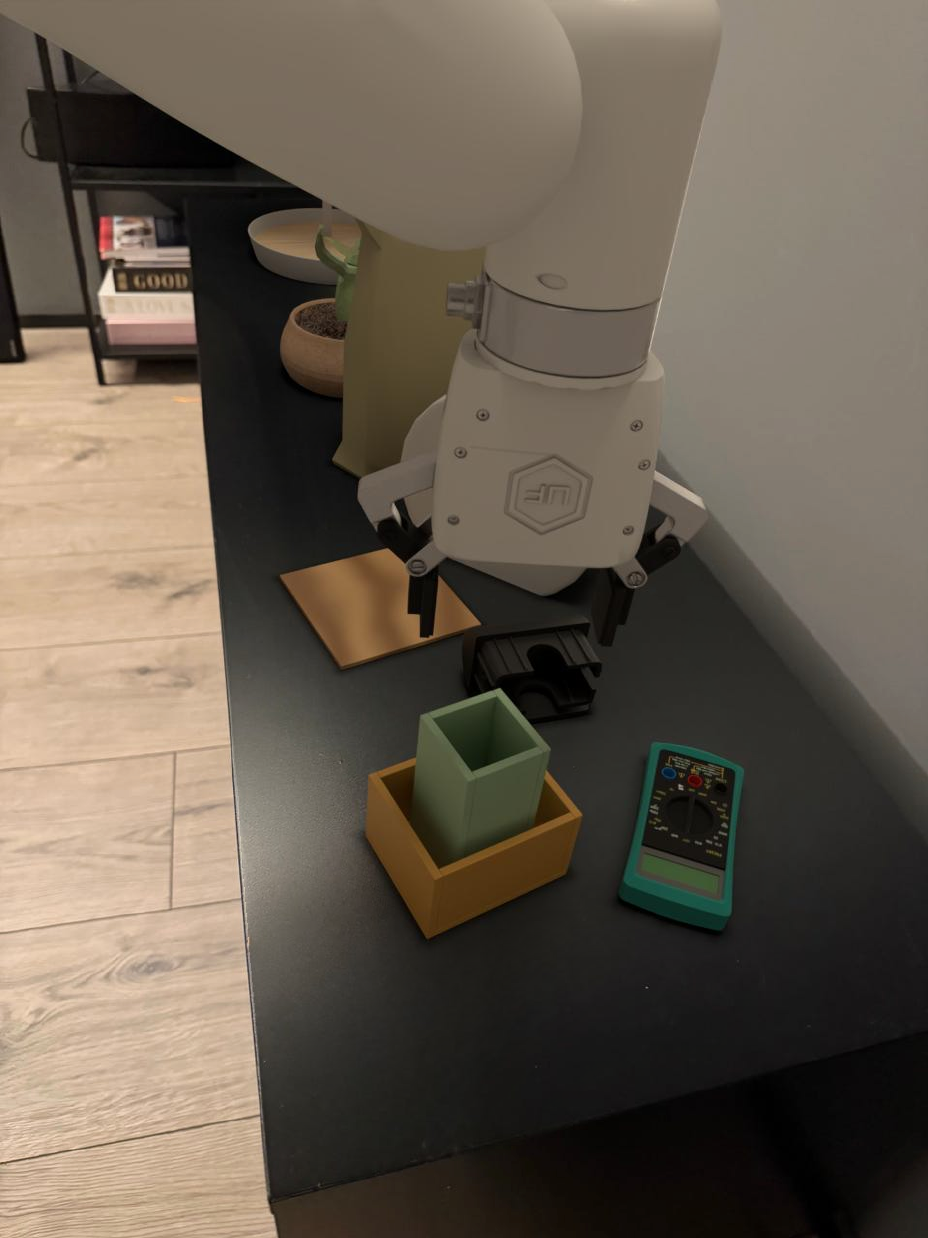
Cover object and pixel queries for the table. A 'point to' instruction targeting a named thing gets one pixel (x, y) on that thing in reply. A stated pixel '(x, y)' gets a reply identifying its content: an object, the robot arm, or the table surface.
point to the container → (397, 344)
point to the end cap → (534, 665)
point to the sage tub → (475, 776)
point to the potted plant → (322, 326)
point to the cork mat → (370, 607)
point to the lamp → (301, 241)
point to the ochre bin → (477, 877)
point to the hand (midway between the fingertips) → (513, 625)
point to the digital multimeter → (685, 836)
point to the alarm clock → (523, 576)
